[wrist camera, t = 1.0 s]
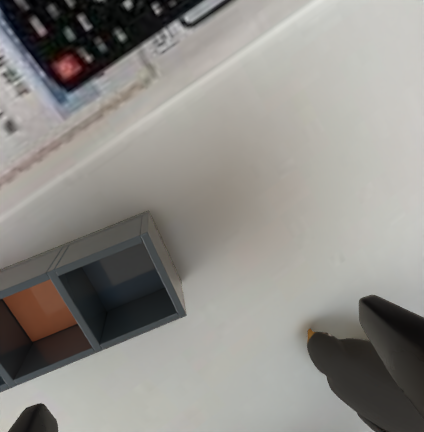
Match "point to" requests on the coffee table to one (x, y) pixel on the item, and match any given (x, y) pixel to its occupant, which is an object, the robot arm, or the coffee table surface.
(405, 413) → the figurine
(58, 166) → the coffee table surface
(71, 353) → the tray
